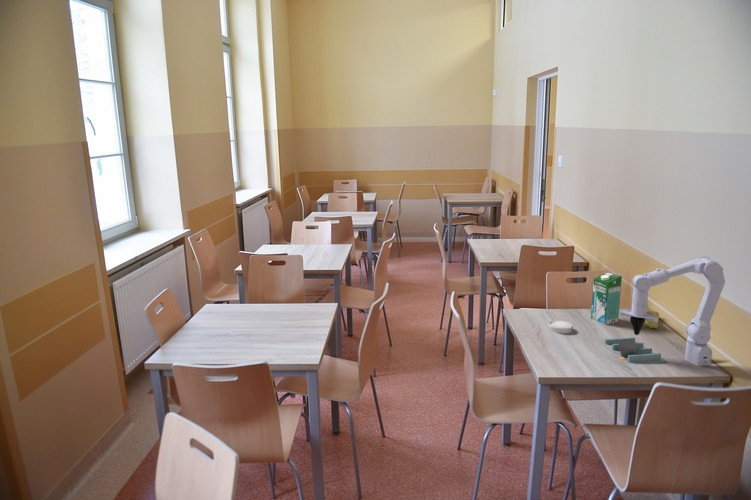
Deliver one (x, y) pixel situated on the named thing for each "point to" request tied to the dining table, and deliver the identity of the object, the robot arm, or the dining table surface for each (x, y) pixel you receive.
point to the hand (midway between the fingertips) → (636, 334)
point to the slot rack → (642, 353)
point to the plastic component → (649, 322)
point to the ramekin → (560, 327)
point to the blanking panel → (628, 347)
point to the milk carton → (606, 298)
